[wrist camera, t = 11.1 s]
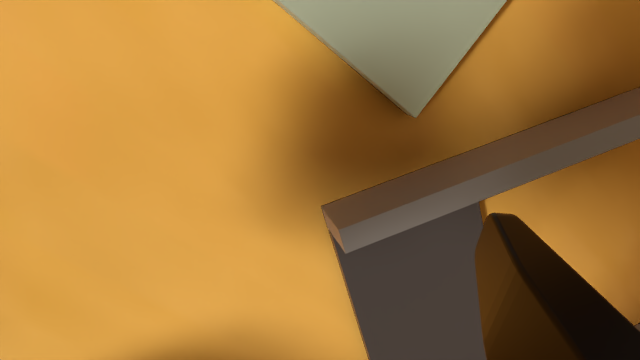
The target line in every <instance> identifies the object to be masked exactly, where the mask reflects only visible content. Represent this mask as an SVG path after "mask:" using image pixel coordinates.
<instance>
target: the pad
mask: <svg viewBox="0 0 640 360" xmlns="http://www.w3.org/2000/svg"><path fill="white" fill-rule="evenodd" d="M273 1H274V2H275V3H277V4H278V5H279V6H280V7H281V8H282V9H284V10H285V11H286V12H287V13H288V14H290V15H291V16H292V17H293V18H294V19H295V20H297V21H298V22H299V23H300V24H301V25H303V26H304V27H305V28H306V29H307V30H308V31H310V32H311V33H312V34H313V35H314V36H315V37H317V38H318V39H319V40H320V41H321V42H323V43H324V44H325V45H326V46H327V47H328V48H330V49H331V50H332V51H333V52H334V53H335V54H337V55H338V56H339V57H340V58H341V59H343V60H344V61H345V62H346V63H347V64H348V65H350V66H351V67H352V68H353V69H354V70H356V71H357V72H358V73H359V74H360V75H361V76H363V77H364V78H365V79H366V80H367V81H368V82H370V83H371V84H372V85H373V86H374V87H376V88H377V89H378V90H379V91H380V92H381V93H383V94H384V95H385V96H386V97H387V98H388V99H390V100H391V101H392V102H393V103H394V104H396V105H397V106H398V107H399V108H400V109H401V110H403V111H404V112H405V113H406V114H407V115H410V116H412V117H415V118H416V117H417V116H418V115H419V113H420V112H421V111H422V109H423V108H424V107H425V106H426V104H427V103H428V102H429V100H430V99H431V98H432V97H433V95H434V94H435V93H436V91H437V90H438V89H439V88H440V86H441V85H442V84H443V82H444V81H445V80H446V78H447V77H448V76H449V75H450V73H451V72H452V71H453V69H454V68H455V67H456V66H457V64H458V63H459V62H460V60H461V59H462V58H463V57H464V55H465V54H466V53H467V51H468V50H469V49H470V47H471V46H472V45H473V44H474V42H475V41H476V40H477V38H478V37H479V36H480V35H481V33H482V32H483V31H484V29H485V28H486V27H487V26H488V24H489V23H490V22H491V20H492V19H493V18H494V16H495V15H496V14H497V13H498V11H499V10H500V9H501V7H502V6H503V5H504V4H505V2H506V1H507V0H273Z"/></svg>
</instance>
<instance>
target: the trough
mask: <svg viewBox="0 0 640 360" xmlns="http://www.w3.org/2000/svg"><path fill="white" fill-rule="evenodd" d="M637 139H640V87H639V88H636V89H634V90H631V91H628V92H626V93H623V94H620V95H618V96H615V97H612V98H610V99H607V100H604V101H602V102H599V103H596V104H594V105H591V106H588V107H586V108H583V109H580V110H578V111H575V112H572V113H570V114H567V115H564V116H561V117H559V118H556V119H553V120H551V121H548V122H545V123H543V124H540V125H537V126H535V127H532V128H529V129H527V130H524V131H521V132H519V133H516V134H513V135H511V136H508V137H505V138H503V139H500V140H497V141H495V142H492V143H489V144H487V145H484V146H481V147H479V148H476V149H473V150H471V151H468V152H465V153H463V154H460V155H457V156H455V157H452V158H449V159H446V160H444V161H441V162H438V163H436V164H433V165H430V166H428V167H425V168H422V169H420V170H417V171H414V172H412V173H409V174H406V175H404V176H401V177H398V178H396V179H393V180H390V181H388V182H385V183H382V184H380V185H377V186H374V187H372V188H369V189H366V190H364V191H361V192H358V193H356V194H353V195H350V196H348V197H345V198H342V199H340V200H337V201H334V202H331V203H329V204H326V205H323V206H321V208H322V211H323V214H324V218H325V221H326V224H327V227H328V229H329V234H330V237H331V240H332V243H333V247H334V250H335V253H336V256H337V259H338V263H339V266H340V269H341V272H342V275H343V279H344V282H345V285H346V288H347V292H348V295H349V298H350V301H351V304H352V308H353V311H354V314H355V317H356V320H357V324H358V327H359V330H360V333H361V336H362V340H363V343H364V346H365V349H366V353H367V356H368V359H369V360H487V359H486V354H485V349H484V344H483V336H482V328H481V318H480V308H479V298H478V289H477V279H476V269H475V249H476V245H477V242H478V239H479V237H480V234H481V231H482V228H483V223H482V217H481V212H480V206H479V201H481V200H484V199H487V198H489V197H492V196H494V195H497V194H499V193H502V192H504V191H507V190H510V189H512V188H515V187H517V186H520V185H522V184H525V183H527V182H530V181H533V180H535V179H538V178H540V177H543V176H545V175H548V174H550V173H553V172H556V171H558V170H561V169H563V168H566V167H568V166H571V165H573V164H576V163H579V162H581V161H584V160H586V159H589V158H591V157H594V156H596V155H599V154H602V153H604V152H607V151H609V150H612V149H614V148H617V147H619V146H622V145H624V144H627V143H630V142H632V141H635V140H637ZM635 327H636V328H637V329H638V330H639V331H640V324H637V325H635Z"/></svg>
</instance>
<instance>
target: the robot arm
mask: <svg viewBox="0 0 640 360" xmlns="http://www.w3.org/2000/svg"><path fill="white" fill-rule="evenodd" d="M475 269H476V279H477V289H478V298H479V308H480V318H481V328H482V336H483V344H484V349H485V354H486V359H487V360H640V331H639V330H638V329H637V328H636V327H635V326H634V325H633V324H632V323H630V322H629V321H628V320H627V319H626V318H625V317H624V316H623V315H622V314H621V313H620V312H619V311H618V310H617V309H616V308H614V307H613V306H612V305H611V304H610V303H609V302H608V301H607V300H606V299H605V298H604V297H603V296H602V295H601V294H600V293H598V292H597V291H596V290H595V289H594V288H593V287H592V286H591V285H590V284H589V283H588V282H587V281H586V280H585V279H583V278H582V277H581V276H580V275H579V274H578V273H577V272H576V271H575V270H574V269H573V268H572V267H571V266H570V265H569V264H567V263H566V262H565V261H564V260H563V259H562V258H561V257H560V256H559V255H558V254H557V253H556V252H555V251H554V250H553V249H551V248H550V247H549V246H548V245H547V244H546V243H545V242H544V241H543V240H542V239H541V238H540V237H539V236H538V235H536V234H535V233H534V232H533V231H532V230H531V229H530V228H529V227H528V226H527V225H526V224H525V223H524V222H523V221H522V220H520V219H519V218H518V217H517V216H515V215H513V214H503V213H491V214H489V215H488V216H487V218H486V220H485V223H484V226H483V228H482V231H481V234H480V237H479V239H478V242H477V245H476V249H475Z"/></svg>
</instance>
